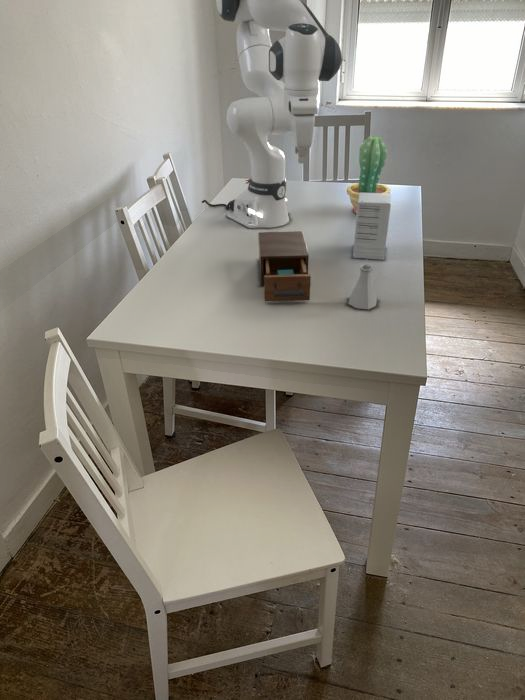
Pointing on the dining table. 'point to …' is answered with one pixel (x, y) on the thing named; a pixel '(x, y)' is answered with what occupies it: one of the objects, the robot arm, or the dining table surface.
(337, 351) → the dining table surface
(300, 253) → the cabinet
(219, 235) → the dining table surface
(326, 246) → the dining table surface
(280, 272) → the block
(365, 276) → the flask
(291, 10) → the robot arm
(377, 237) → the supplement box
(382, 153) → the potted cactus
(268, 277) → the drawer
